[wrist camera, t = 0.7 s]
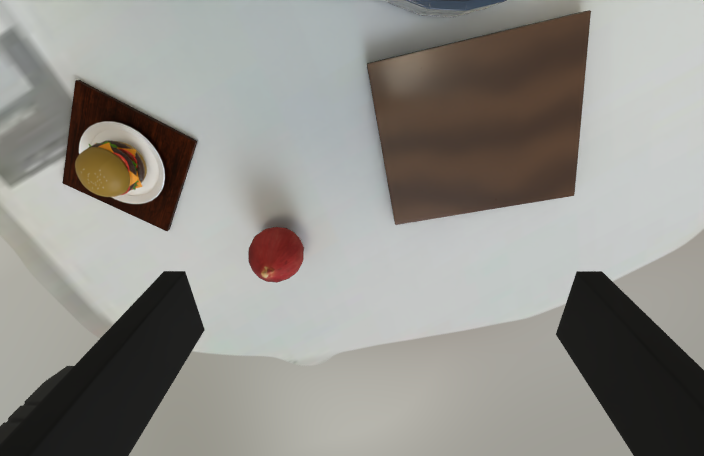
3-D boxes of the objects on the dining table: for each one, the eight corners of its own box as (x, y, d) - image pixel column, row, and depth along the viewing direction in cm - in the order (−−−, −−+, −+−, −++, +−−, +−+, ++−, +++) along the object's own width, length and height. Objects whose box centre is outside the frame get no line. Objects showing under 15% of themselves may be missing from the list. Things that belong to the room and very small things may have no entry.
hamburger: (65, 181, 38) (20, 200, 33) (79, 79, 32) (27, 84, 28) (169, 229, 40) (140, 254, 35) (197, 141, 35) (168, 155, 30)
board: (367, 63, 30) (366, 63, 29) (580, 12, 28) (591, 10, 26) (394, 219, 37) (395, 225, 36) (566, 190, 35) (574, 195, 33)
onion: (307, 261, 41) (293, 304, 34) (260, 255, 41) (236, 297, 34) (310, 218, 38) (295, 256, 31) (260, 211, 38) (234, 248, 31)
